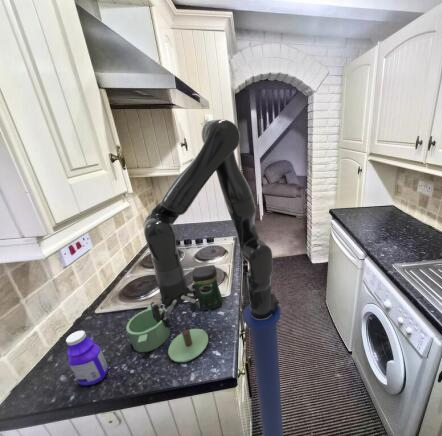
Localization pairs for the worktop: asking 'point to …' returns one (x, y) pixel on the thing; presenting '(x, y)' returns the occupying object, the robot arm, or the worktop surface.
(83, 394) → the worktop surface
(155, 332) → the pot
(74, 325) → the worktop surface
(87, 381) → the bottle
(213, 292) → the coffee jar
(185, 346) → the lid
